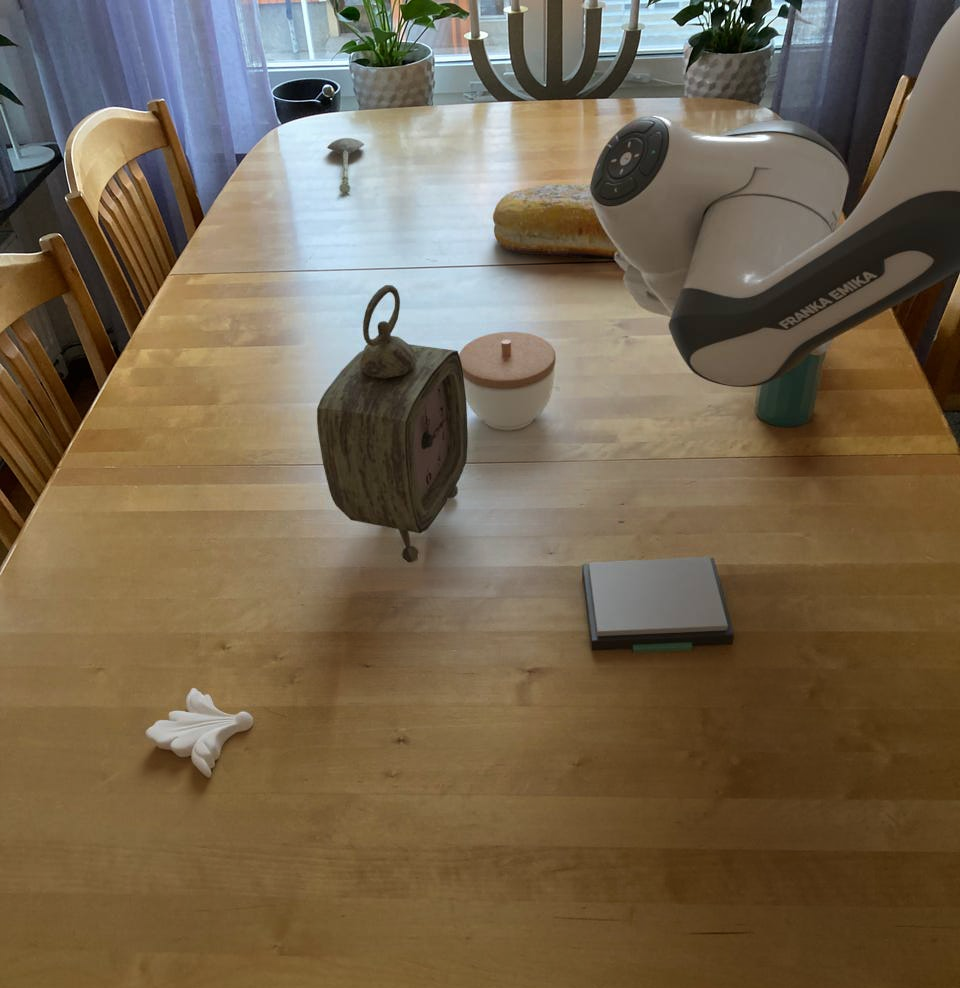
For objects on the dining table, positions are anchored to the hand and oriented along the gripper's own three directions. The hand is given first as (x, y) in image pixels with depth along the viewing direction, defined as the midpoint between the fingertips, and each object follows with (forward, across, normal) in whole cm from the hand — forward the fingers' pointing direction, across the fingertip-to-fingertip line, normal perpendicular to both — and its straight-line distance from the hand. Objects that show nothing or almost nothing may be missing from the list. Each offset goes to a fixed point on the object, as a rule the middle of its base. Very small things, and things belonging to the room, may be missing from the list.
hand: (753, 338), depth 97 cm
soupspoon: (+25, -100, +19) cm, 104 cm away
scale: (-6, +7, -29) cm, 31 cm away
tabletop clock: (-11, -20, -31) cm, 39 cm away
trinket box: (+3, -26, -15) cm, 30 cm away
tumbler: (+18, -2, -1) cm, 18 cm away
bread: (+28, -47, +16) cm, 57 cm away
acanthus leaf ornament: (-30, -13, -54) cm, 64 cm away
